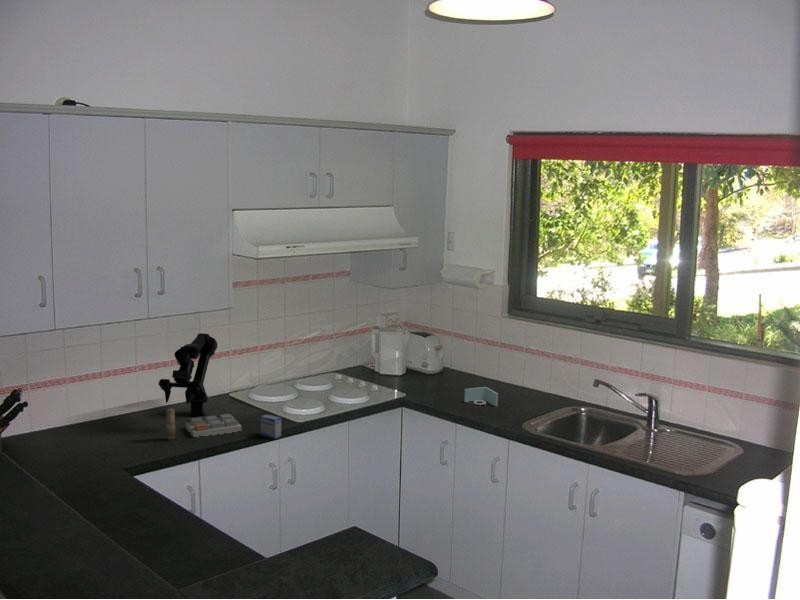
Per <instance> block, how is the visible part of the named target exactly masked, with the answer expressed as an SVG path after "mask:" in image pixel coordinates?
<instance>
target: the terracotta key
mask: <svg viewBox="0 0 800 600" xmlns="http://www.w3.org/2000/svg"><path fill="white" fill-rule="evenodd" d="M194 427H195V430H196V431H204V430H207V424H206V423H205V422H200V423H194Z"/></svg>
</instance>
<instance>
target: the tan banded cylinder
mask: <svg viewBox="0 0 800 600" xmlns="http://www.w3.org/2000/svg"><path fill="white" fill-rule="evenodd" d="M175 414H176V411H175V408H166V409H165V415H166V416H165V417H166V418H165V422H166V423H165V425H166V440H167V441H168V440H173V441H175V440H176V420H175V419H176V415H175ZM174 439H175V440H174Z"/></svg>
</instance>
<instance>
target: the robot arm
mask: <svg viewBox="0 0 800 600" xmlns="http://www.w3.org/2000/svg"><path fill="white" fill-rule="evenodd" d="M217 349H218V341H217V340H216V339H215V338H214V337H212V336H210V334H209V333H201V332H200V333H197V336H196V337H195V338H194V339H193V341H192V342H190V343H188V344H184V345H183V346H180V348H178V349H177V350H175V352H174V358H175V359H176V362H177V364H178V365H179V367H178V369H177V370H175V369H174V370H173V371H172V375H171V378H172V379H173V381H174V382H171V381H170V378H161V379H159V381H158V386H159V387H160V389H161V390H162V391H163V392H164V398H165V403H167V404H168V403H169V399H170V396H171V392H172V391H171V389H172V388H180V389H181V388H182V389H185V391H184V392H185V393H184V396H185V401H186V404H187V405H190V407H189V408H190V411H188V414H189V415H190V417H192V418H195V417H200V416H206V413H205V412H204V404H205V403H207V402H208V394H207V392H206V389H205V386H204V383H205V377H206V375H207V371H208V367H209V362H210V358H211V357H213V356H214V355H215V353H216V350H217ZM197 359H198V361H197V363H196V364H197V365H196V370H195V372H194V376H193V379H192V374H193V370H194V368H195V361H194V360H197ZM191 379H192V381H191Z"/></svg>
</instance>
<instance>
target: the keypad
mask: <svg viewBox="0 0 800 600" xmlns="http://www.w3.org/2000/svg"><path fill="white" fill-rule="evenodd" d="M200 422H205V423H206V424H207V430H204V431H196V430H195V427H194V423H200ZM242 428H243V426H242V424H240V422H239V421H237V420H236V418H234V416H233V415H232V414H231V413H225V414H220V415H219V418H218V417H217V416H216V415H209V416H205V419H204V420H203V418H202V417H200V416H198V417H192V418H190V422H186V423H185V429H186V430H187V431H188V433H189V432H190V433H191V434H190V433H189V434H190V436H191V437H192V436H193V437H197V438H200V437H199V436H205V437H210V436H209V435H212V436H218V435H217V434H219V435H225V434H224V433H227V434H232V432H234V433H239V432H238V431H241V432H242ZM193 437H192V438H193Z"/></svg>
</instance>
